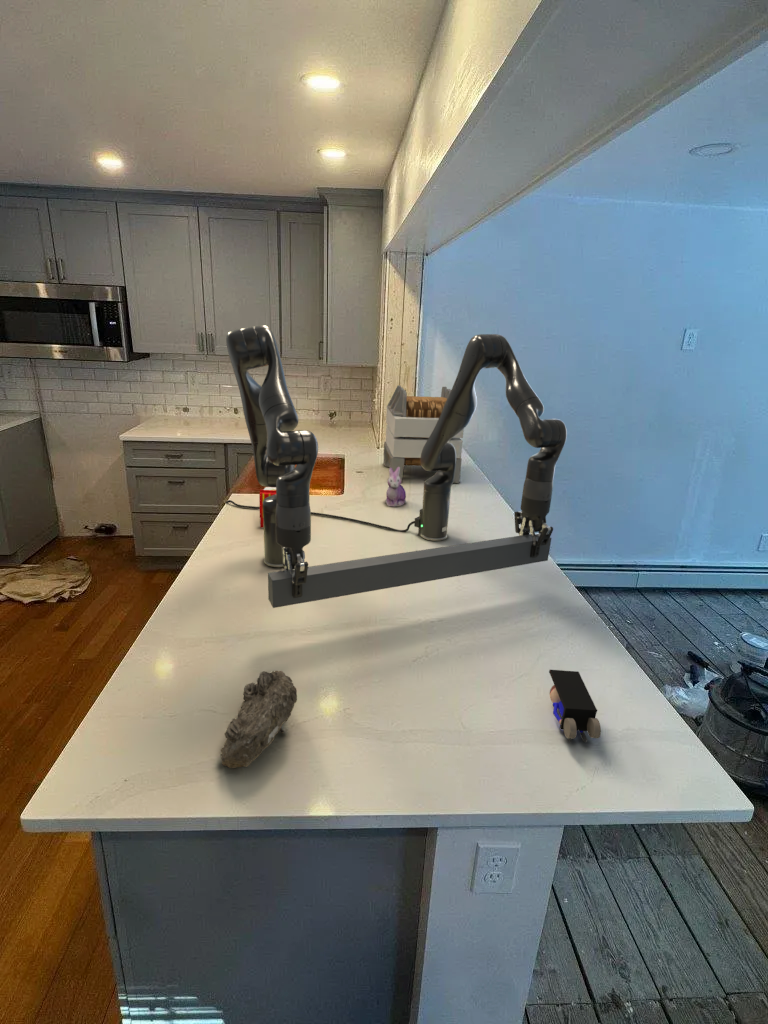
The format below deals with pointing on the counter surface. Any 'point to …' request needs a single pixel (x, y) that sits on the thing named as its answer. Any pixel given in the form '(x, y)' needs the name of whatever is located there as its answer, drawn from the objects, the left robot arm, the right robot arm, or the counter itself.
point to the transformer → (414, 429)
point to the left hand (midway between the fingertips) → (294, 591)
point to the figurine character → (573, 705)
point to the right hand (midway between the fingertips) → (528, 553)
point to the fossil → (258, 718)
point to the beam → (403, 569)
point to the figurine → (395, 489)
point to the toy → (262, 495)
